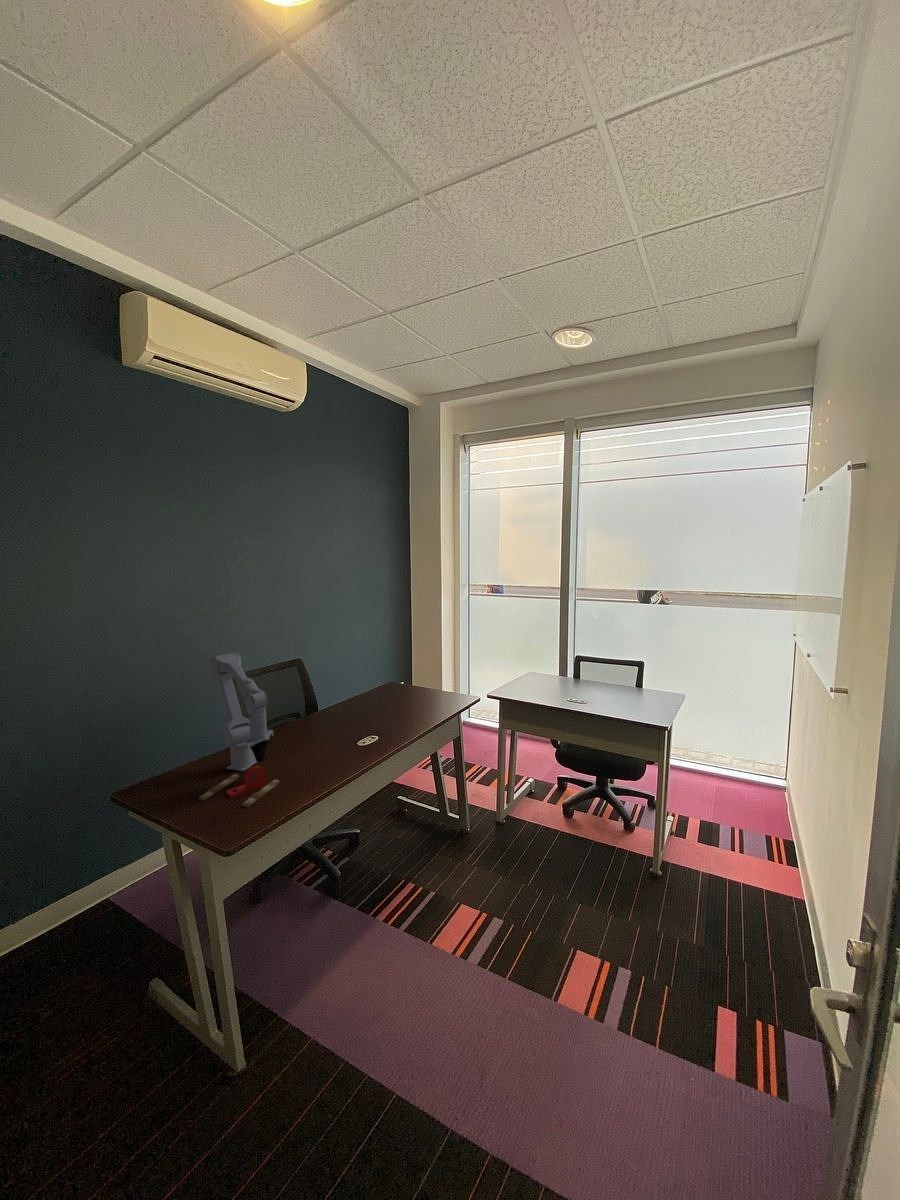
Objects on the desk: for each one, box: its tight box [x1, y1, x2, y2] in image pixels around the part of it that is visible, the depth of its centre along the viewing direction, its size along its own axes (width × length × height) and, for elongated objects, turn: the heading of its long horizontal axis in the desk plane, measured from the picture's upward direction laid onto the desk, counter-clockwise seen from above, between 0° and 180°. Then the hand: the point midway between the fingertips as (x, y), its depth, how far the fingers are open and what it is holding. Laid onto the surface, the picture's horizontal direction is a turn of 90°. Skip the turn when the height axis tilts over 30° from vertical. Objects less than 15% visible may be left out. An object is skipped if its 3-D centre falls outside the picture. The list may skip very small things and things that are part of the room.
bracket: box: [226, 765, 267, 799], centre depth 169 cm, size 12×4×8 cm, turn 136°
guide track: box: [198, 773, 280, 808], centre depth 168 cm, size 17×19×1 cm
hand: (260, 761), depth 178 cm, fingers closed
